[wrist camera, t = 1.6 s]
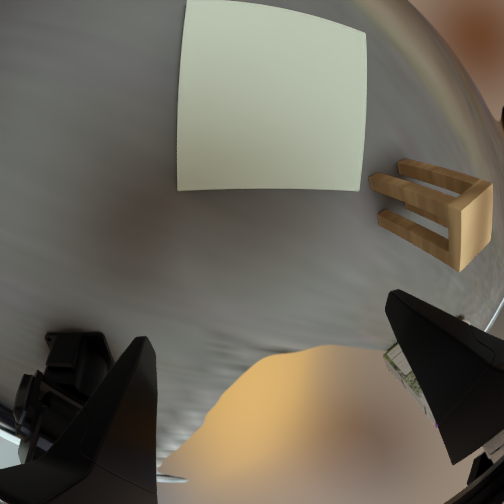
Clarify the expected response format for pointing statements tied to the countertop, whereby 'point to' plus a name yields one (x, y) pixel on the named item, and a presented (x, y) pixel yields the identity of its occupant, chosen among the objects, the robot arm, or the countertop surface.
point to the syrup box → (407, 378)
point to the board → (269, 99)
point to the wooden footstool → (439, 210)
